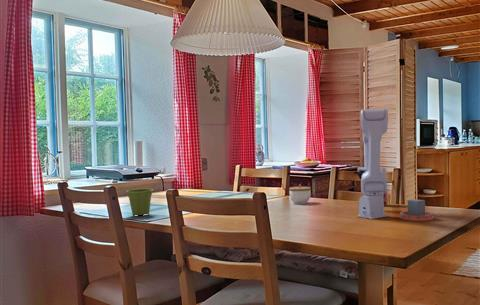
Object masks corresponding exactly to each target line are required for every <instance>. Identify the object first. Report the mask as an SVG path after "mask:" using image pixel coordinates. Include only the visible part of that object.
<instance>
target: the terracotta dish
mask: <svg viewBox="0 0 480 305" xmlns="http://www.w3.org/2000/svg"><path fill="white" fill-rule="evenodd" d="M399 218H400V220H403V221H410V222H429V221H433V220H434V212H430V211H425V215H408V210H405V211H401V212H399Z"/></svg>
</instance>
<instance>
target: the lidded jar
mask: <svg viewBox="0 0 480 305" xmlns="http://www.w3.org/2000/svg"><path fill="white" fill-rule="evenodd" d="M311 189H312V187H311V186H302V185H301V183H300V184H298V186H292V187H289V188H288V190H289V197H290V199H291V200H290V201H292V202H293V203H294V204H295V205H305V204H307V203H308V202H309V201H310V198H311V194H312V192H311Z"/></svg>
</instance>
